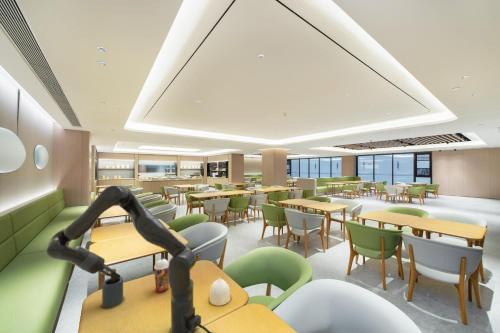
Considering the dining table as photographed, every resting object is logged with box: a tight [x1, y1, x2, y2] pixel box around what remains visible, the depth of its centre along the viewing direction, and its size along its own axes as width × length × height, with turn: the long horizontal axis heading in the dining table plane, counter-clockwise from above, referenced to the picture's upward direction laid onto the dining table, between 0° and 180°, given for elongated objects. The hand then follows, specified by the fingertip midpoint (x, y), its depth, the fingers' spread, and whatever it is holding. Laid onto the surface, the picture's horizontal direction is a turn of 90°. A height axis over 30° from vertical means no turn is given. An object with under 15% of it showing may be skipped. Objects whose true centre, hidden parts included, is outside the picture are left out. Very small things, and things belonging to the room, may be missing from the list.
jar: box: [101, 276, 124, 309], centre depth 110 cm, size 9×9×11 cm
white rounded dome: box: [209, 276, 231, 306], centre depth 113 cm, size 11×11×12 cm
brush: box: [110, 268, 117, 284], centre depth 110 cm, size 5×5×15 cm
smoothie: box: [153, 254, 170, 293], centre depth 121 cm, size 8×8×20 cm
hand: (117, 276), depth 112 cm, fingers closed on brush
